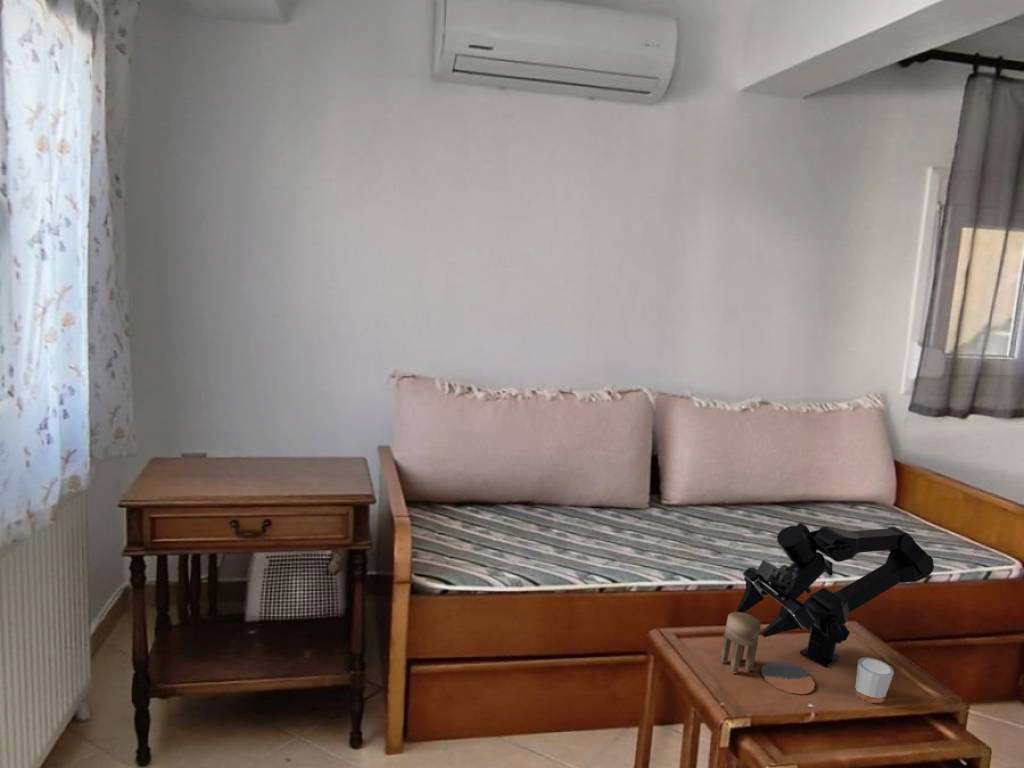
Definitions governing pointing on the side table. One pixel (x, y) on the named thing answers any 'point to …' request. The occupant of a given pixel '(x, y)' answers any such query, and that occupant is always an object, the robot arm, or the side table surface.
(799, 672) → the mat
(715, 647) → the side table surface
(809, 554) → the robot arm
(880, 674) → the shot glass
